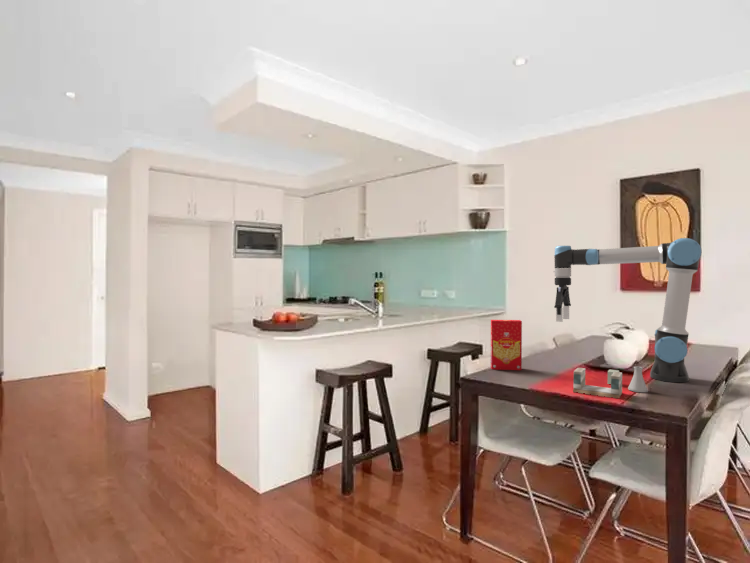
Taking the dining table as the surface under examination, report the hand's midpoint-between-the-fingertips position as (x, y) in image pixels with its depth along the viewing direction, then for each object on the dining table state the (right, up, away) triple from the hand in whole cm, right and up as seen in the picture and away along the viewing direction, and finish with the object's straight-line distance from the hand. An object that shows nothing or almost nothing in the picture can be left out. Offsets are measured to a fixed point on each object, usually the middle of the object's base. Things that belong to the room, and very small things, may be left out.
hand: (562, 320), depth 223 cm
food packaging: (-25, -26, +11) cm, 38 cm away
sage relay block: (+14, -27, -21) cm, 37 cm away
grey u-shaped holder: (0, -27, -35) cm, 44 cm away
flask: (+18, -27, -32) cm, 46 cm away
